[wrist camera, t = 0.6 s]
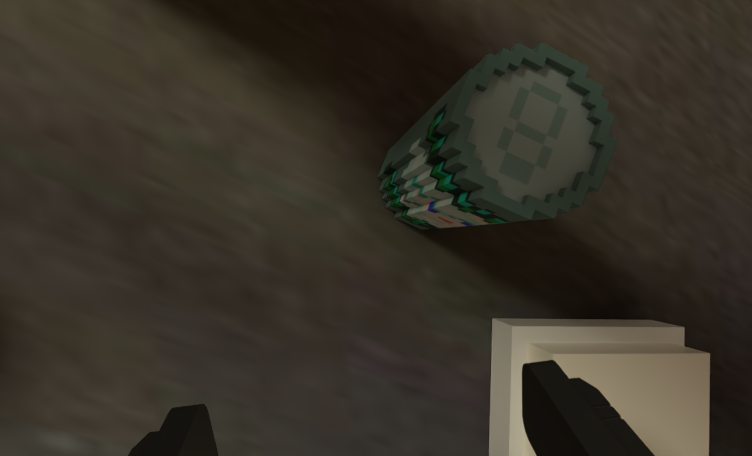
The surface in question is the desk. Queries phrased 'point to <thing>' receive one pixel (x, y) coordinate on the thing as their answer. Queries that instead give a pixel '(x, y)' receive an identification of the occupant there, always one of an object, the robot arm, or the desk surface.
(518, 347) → the tower base
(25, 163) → the desk surface
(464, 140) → the can
